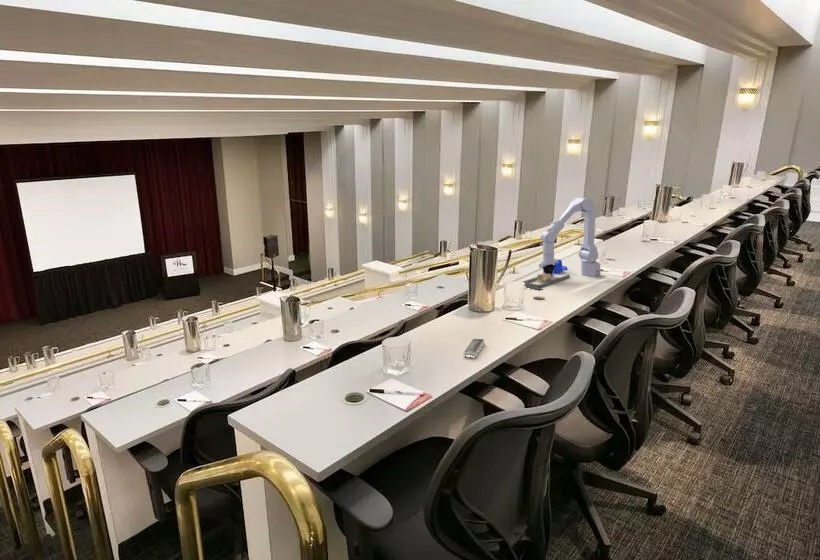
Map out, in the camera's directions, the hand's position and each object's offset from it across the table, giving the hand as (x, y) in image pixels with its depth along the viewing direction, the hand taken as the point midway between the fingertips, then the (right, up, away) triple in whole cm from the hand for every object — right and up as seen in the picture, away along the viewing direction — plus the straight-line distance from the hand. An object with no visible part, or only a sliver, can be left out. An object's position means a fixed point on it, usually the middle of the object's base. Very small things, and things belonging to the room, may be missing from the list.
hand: (548, 278), depth 281 cm
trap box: (-2, -3, -1) cm, 4 cm away
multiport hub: (-50, -28, -84) cm, 102 cm away
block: (-3, -2, -2) cm, 4 cm away
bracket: (+10, +3, +22) cm, 24 cm away
